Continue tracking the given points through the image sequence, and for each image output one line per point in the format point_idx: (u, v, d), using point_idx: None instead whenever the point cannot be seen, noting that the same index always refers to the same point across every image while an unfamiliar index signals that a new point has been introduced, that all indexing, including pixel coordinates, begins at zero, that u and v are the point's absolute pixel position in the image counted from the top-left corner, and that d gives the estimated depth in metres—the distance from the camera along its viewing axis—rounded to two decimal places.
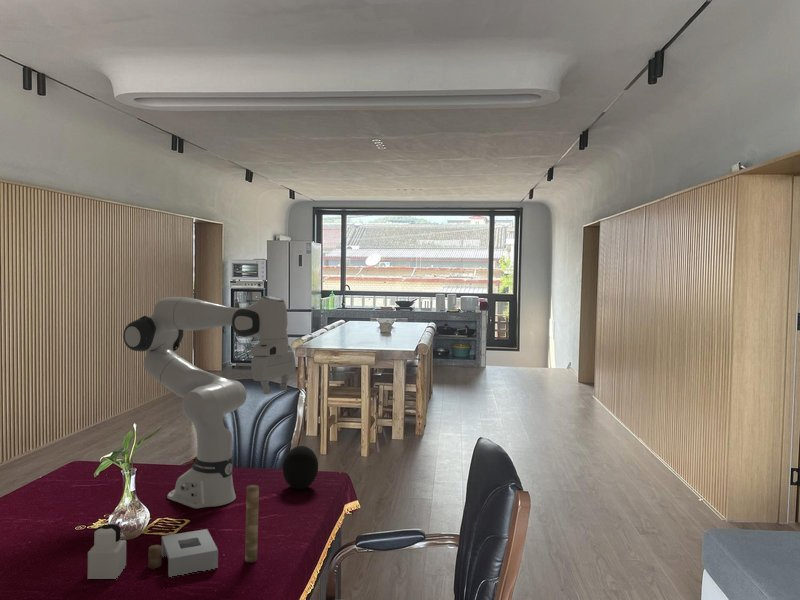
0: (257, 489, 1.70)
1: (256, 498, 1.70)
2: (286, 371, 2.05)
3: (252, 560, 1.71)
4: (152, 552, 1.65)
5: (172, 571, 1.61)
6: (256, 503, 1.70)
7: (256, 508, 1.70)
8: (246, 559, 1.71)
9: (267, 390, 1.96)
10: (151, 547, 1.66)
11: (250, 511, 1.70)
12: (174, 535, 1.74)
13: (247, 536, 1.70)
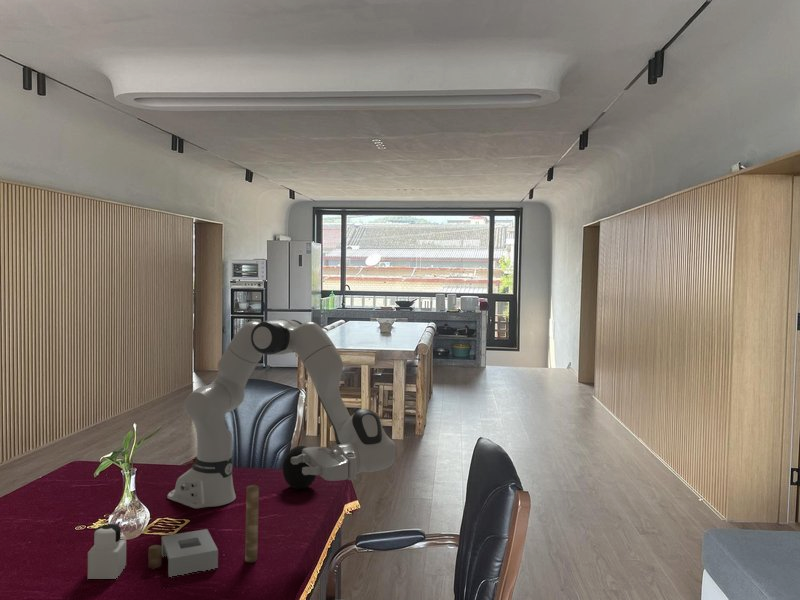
0: (257, 489, 1.70)
1: (256, 498, 1.70)
2: None
3: (252, 560, 1.71)
4: (152, 552, 1.65)
5: (172, 571, 1.61)
6: (256, 503, 1.70)
7: (256, 508, 1.70)
8: (246, 559, 1.71)
9: (307, 473, 1.72)
10: (151, 547, 1.66)
11: (250, 511, 1.70)
12: (174, 535, 1.74)
13: (247, 536, 1.70)
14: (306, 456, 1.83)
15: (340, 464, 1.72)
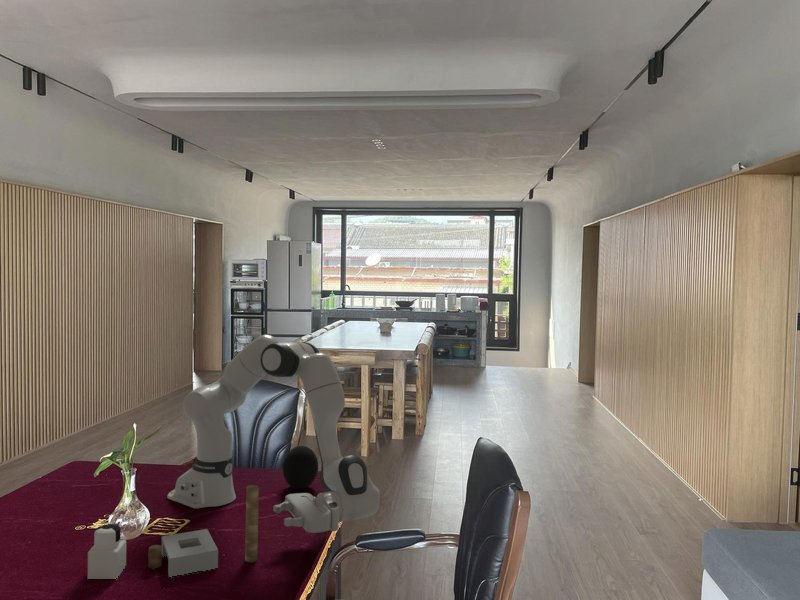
0: (257, 489, 1.70)
1: (256, 498, 1.70)
2: None
3: (252, 560, 1.71)
4: (152, 552, 1.65)
5: (172, 571, 1.61)
6: (256, 503, 1.70)
7: (256, 508, 1.70)
8: (246, 559, 1.71)
9: (289, 524, 1.71)
10: (151, 547, 1.66)
11: (250, 511, 1.70)
12: (174, 535, 1.74)
13: (247, 536, 1.70)
14: (289, 504, 1.82)
15: (322, 516, 1.71)
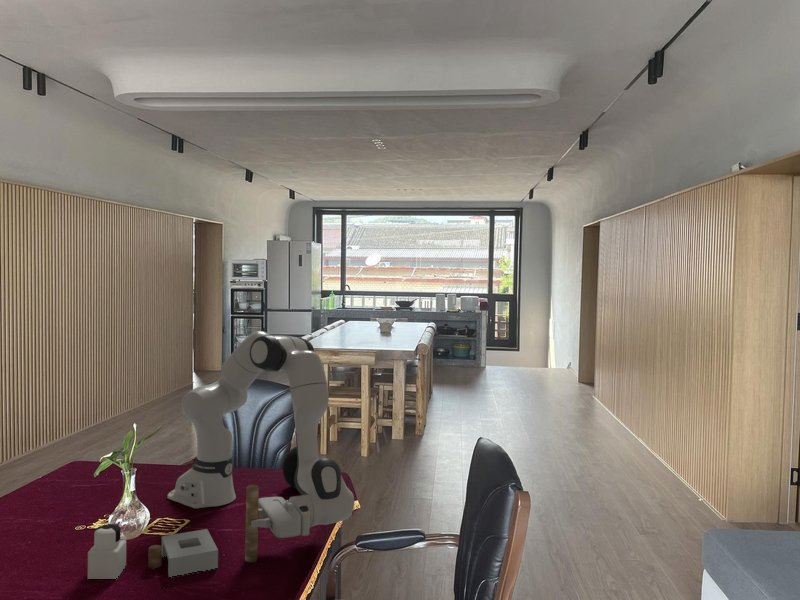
0: (257, 489, 1.70)
1: (256, 498, 1.70)
2: None
3: (252, 560, 1.71)
4: (152, 552, 1.65)
5: (172, 571, 1.61)
6: (256, 503, 1.70)
7: (256, 508, 1.70)
8: (246, 559, 1.71)
9: (256, 526, 1.69)
10: (151, 547, 1.66)
11: (250, 511, 1.70)
12: (174, 535, 1.74)
13: (247, 536, 1.70)
14: (262, 511, 1.76)
15: (292, 520, 1.67)
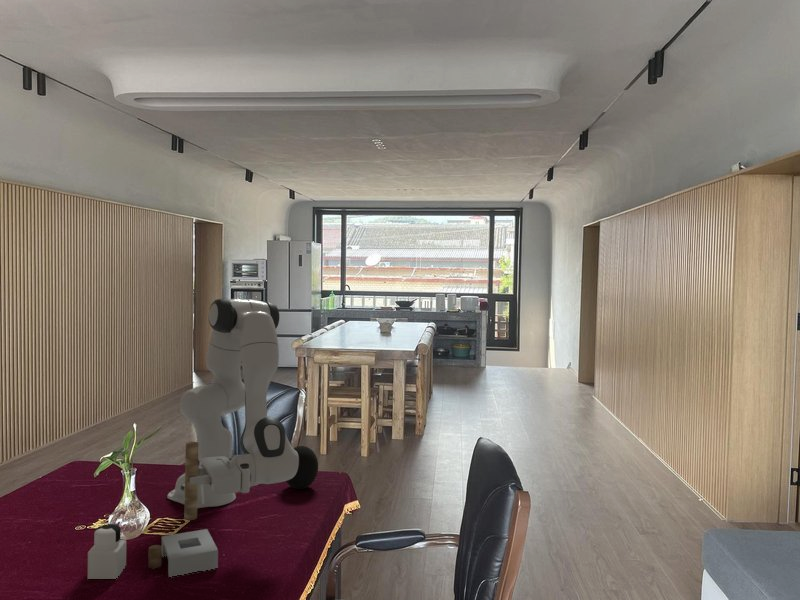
0: (196, 445, 1.67)
1: (196, 455, 1.67)
2: None
3: (191, 518, 1.68)
4: (152, 552, 1.65)
5: (172, 571, 1.61)
6: (195, 460, 1.67)
7: (195, 465, 1.68)
8: (185, 517, 1.68)
9: (194, 482, 1.66)
10: (151, 547, 1.66)
11: (189, 467, 1.67)
12: (174, 535, 1.74)
13: (186, 493, 1.68)
14: (203, 469, 1.73)
15: (231, 476, 1.64)
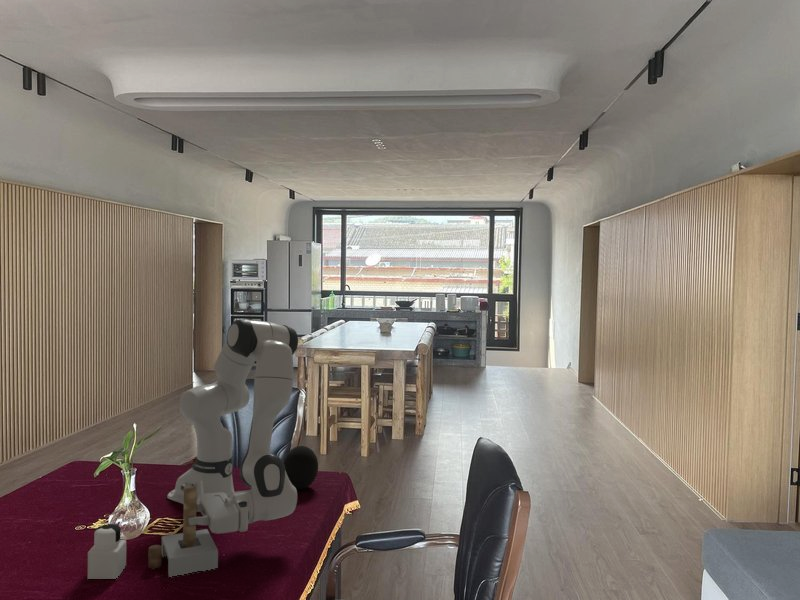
0: (194, 490, 1.68)
1: (194, 499, 1.68)
2: None
3: None
4: (152, 552, 1.65)
5: (172, 571, 1.61)
6: (193, 504, 1.68)
7: (193, 509, 1.68)
8: None
9: (193, 523, 1.66)
10: (151, 547, 1.66)
11: (187, 512, 1.68)
12: (174, 535, 1.74)
13: (184, 537, 1.68)
14: (201, 505, 1.74)
15: (229, 516, 1.65)
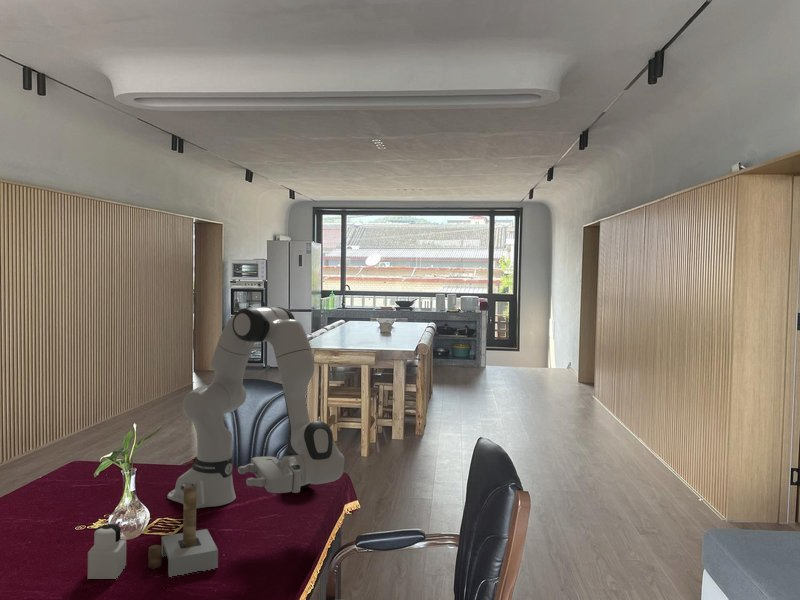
0: (194, 490, 1.68)
1: (194, 499, 1.68)
2: None
3: None
4: (152, 552, 1.65)
5: (172, 571, 1.61)
6: (193, 504, 1.68)
7: (193, 509, 1.68)
8: None
9: (251, 484, 1.74)
10: (151, 547, 1.66)
11: (187, 512, 1.67)
12: (174, 535, 1.74)
13: (184, 537, 1.68)
14: (254, 466, 1.85)
15: (284, 477, 1.74)
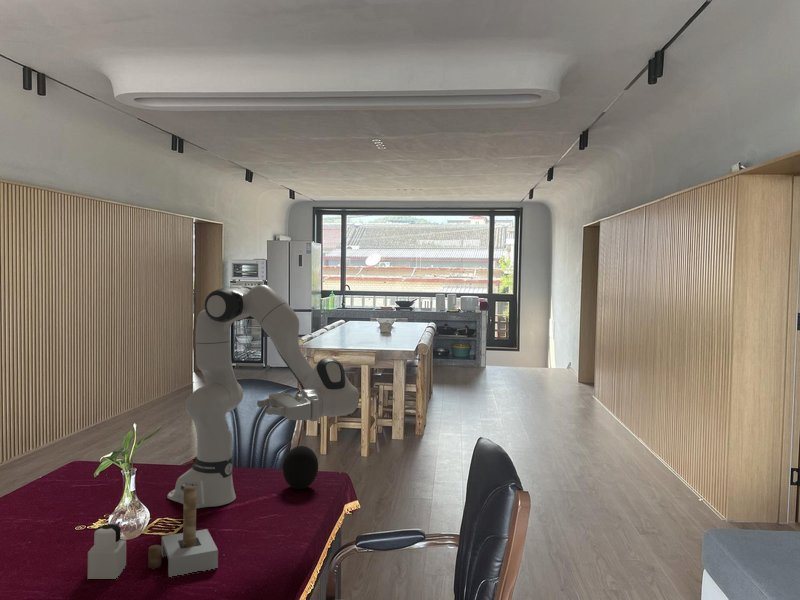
0: (194, 490, 1.68)
1: (194, 499, 1.68)
2: None
3: None
4: (152, 552, 1.65)
5: (172, 571, 1.61)
6: (193, 504, 1.68)
7: (193, 509, 1.68)
8: None
9: (271, 413, 1.80)
10: (151, 547, 1.66)
11: (187, 512, 1.67)
12: (174, 535, 1.74)
13: (184, 537, 1.68)
14: (272, 400, 1.91)
15: (303, 405, 1.80)
